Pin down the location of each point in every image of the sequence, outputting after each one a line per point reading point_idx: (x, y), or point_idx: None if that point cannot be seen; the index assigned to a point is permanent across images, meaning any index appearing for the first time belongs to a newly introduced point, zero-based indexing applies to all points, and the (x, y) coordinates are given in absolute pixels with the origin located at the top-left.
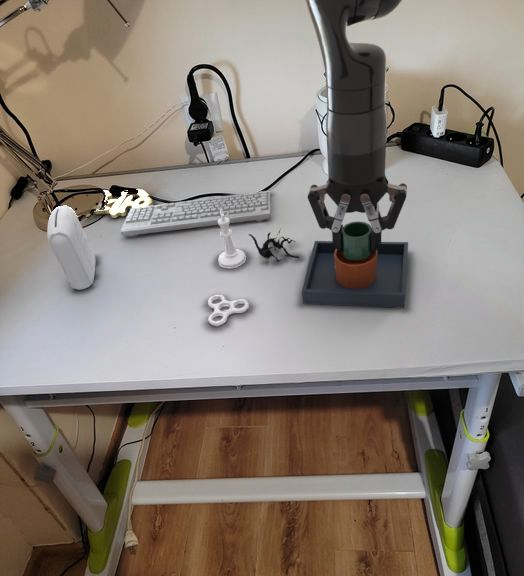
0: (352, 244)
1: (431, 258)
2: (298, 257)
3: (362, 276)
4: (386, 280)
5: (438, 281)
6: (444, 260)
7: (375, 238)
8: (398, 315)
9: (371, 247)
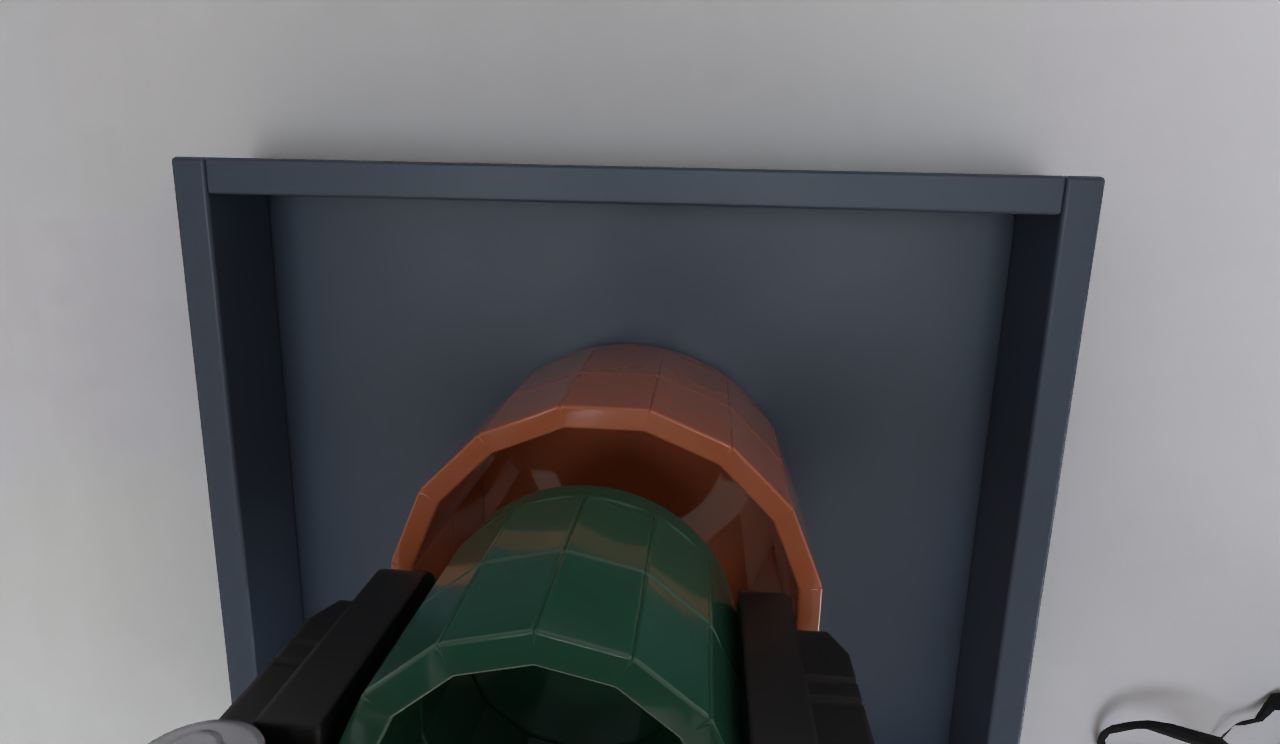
0: (589, 585)
1: (144, 693)
2: (1107, 731)
3: (543, 384)
4: (398, 449)
5: (68, 459)
6: (62, 670)
7: (297, 669)
8: (281, 75)
9: (398, 601)
